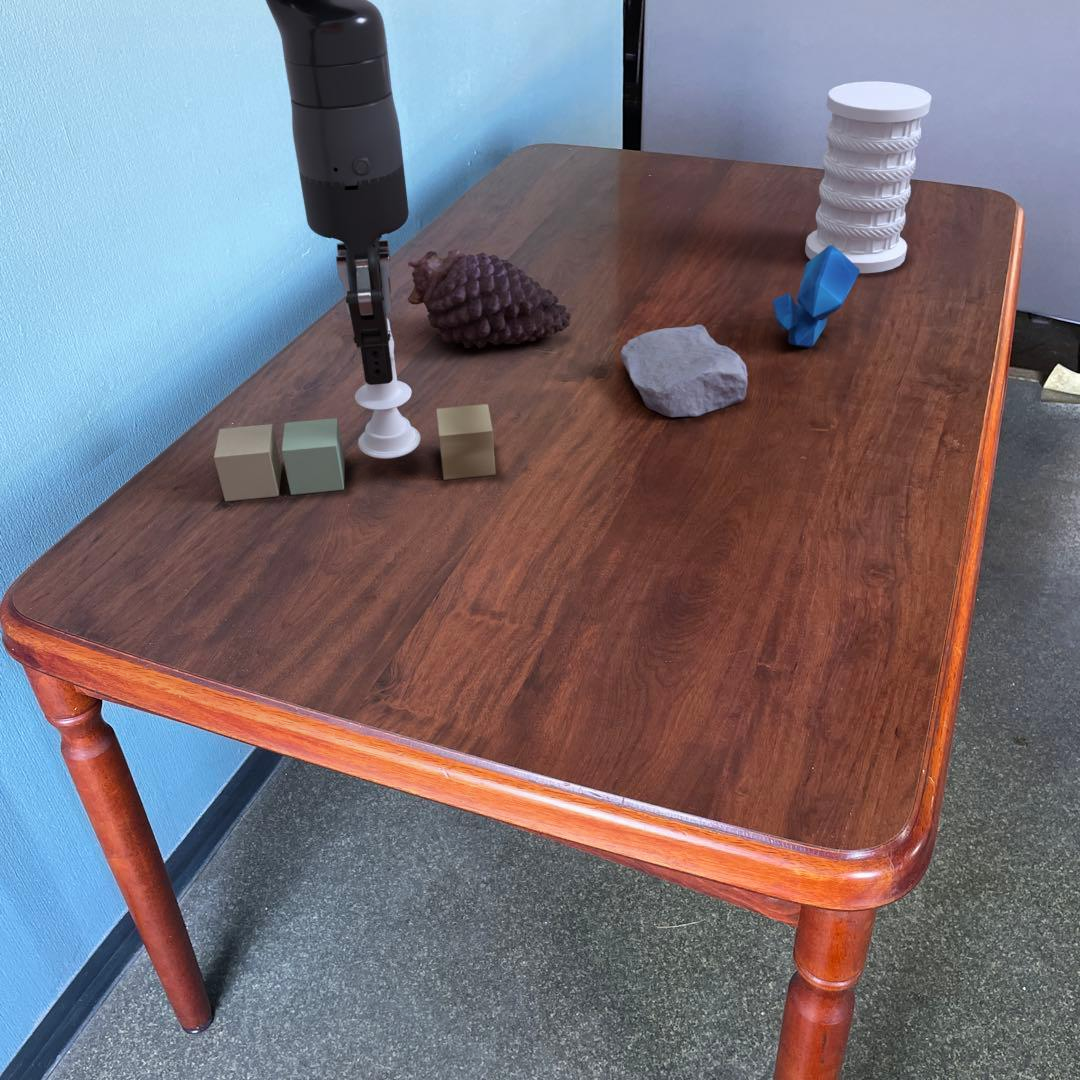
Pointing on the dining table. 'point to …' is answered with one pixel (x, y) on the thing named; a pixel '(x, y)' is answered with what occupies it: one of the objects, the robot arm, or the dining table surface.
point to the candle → (387, 417)
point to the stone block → (684, 371)
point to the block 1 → (248, 462)
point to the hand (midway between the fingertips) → (379, 372)
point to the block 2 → (313, 456)
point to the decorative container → (868, 172)
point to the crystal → (816, 296)
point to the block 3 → (466, 441)
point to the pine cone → (484, 300)
